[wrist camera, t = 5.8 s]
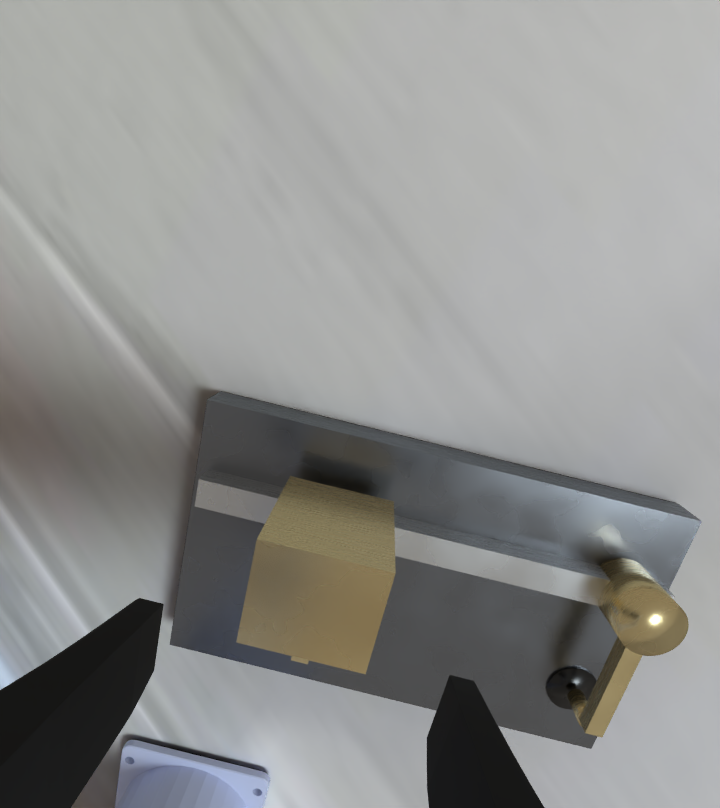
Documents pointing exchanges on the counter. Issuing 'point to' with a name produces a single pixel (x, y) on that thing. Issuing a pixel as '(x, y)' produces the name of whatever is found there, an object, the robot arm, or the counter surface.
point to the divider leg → (321, 576)
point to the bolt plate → (447, 567)
